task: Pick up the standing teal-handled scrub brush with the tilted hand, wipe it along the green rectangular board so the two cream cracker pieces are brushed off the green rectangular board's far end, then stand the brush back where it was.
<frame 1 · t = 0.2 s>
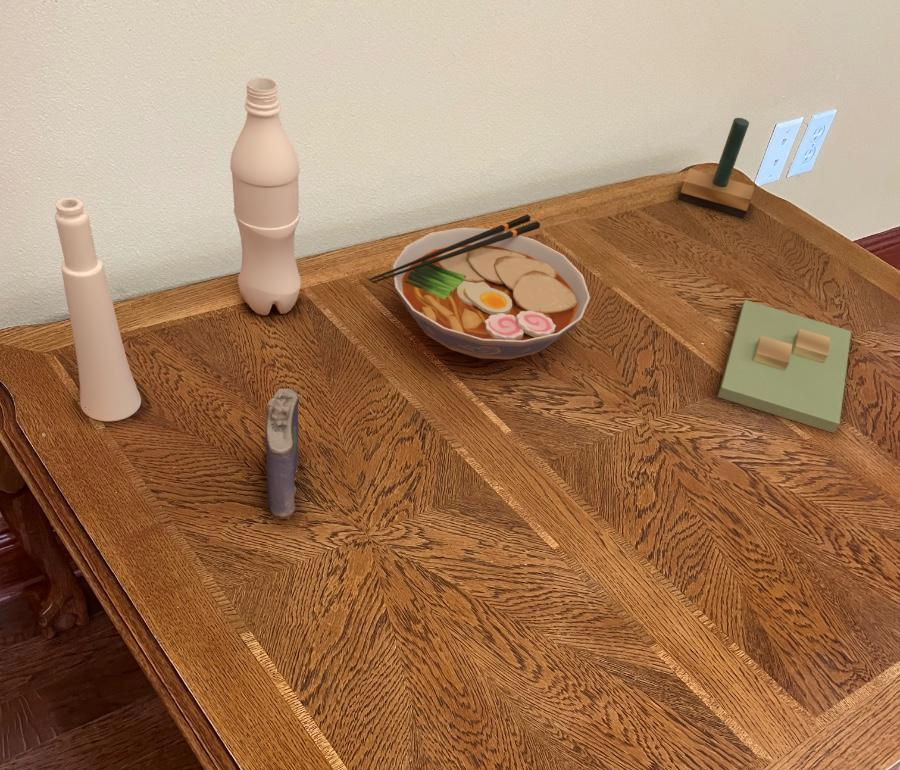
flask: (283, 488, 94), on the table
water bottle: (270, 304, 112), on the table
green rectangular board: (784, 367, 116), on the table
ramen bowl: (482, 336, 113), on the table
cracker a: (809, 349, 116), point 1 cm above the table, touching green rectangular board
brush: (713, 202, 140), on the table
cosmetic bottle: (111, 404, 98), on the table
cracker b: (770, 356, 114), point 1 cm above the table, touching green rectangular board
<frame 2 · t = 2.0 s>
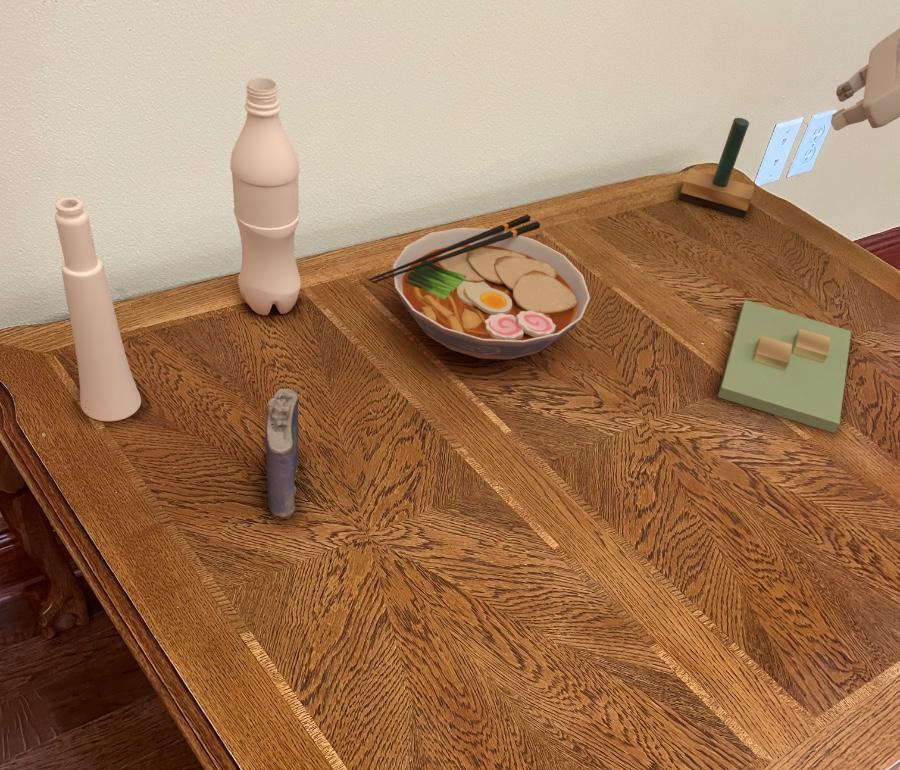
hand: (835, 109, 126), 17 cm above the table, tool tilted 45°, fingers open, 8 cm apart
nothing on the table moved.
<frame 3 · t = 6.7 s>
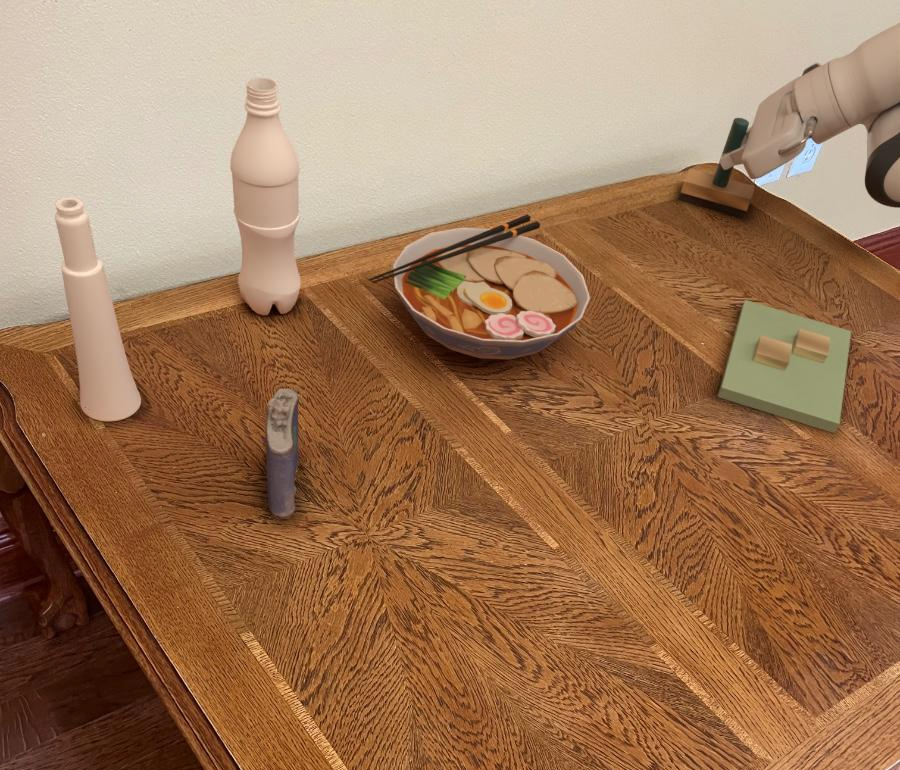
hand: (723, 158, 135), 7 cm above the table, tool tilted 45°, fingers closed on brush, 2 cm apart
brush: (713, 202, 140), on the table, touching gripper
everything else where it was.
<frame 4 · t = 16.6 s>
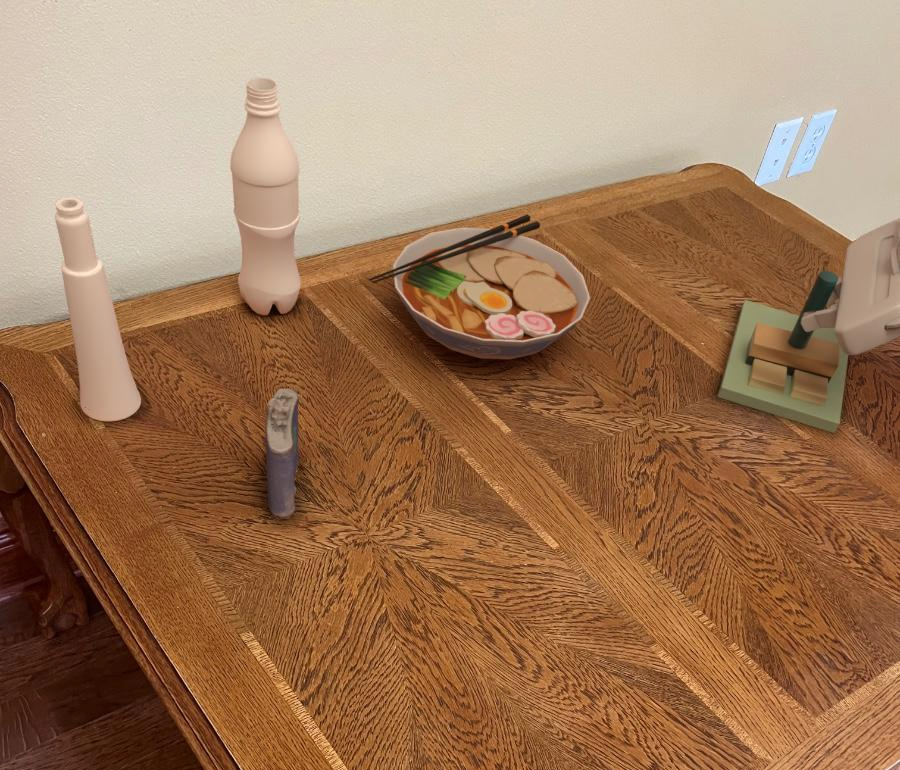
hand: (804, 315, 108), 9 cm above the table, tool tilted 45°, fingers closed on brush, 2 cm apart
cracker a: (806, 391, 111), point 1 cm above the table, touching brush, green rectangular board
brush: (787, 363, 113), point 2 cm above the table, touching cracker a, gripper
cracker b: (765, 380, 111), point 2 cm above the table, touching green rectangular board
everything else where it was.
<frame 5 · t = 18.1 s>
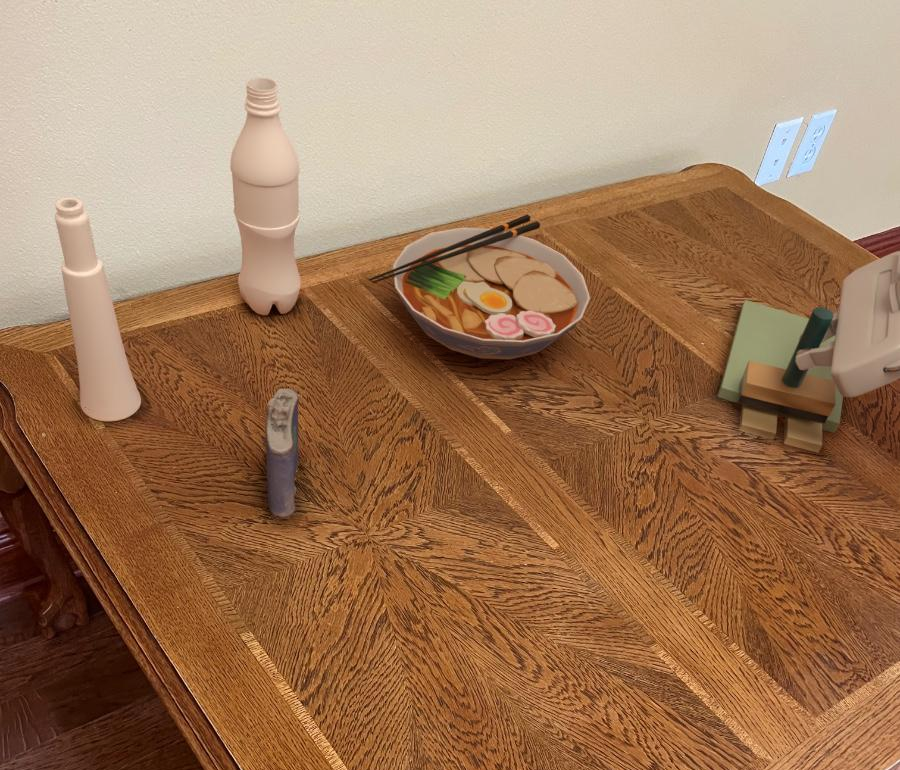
hand: (799, 352, 103), 9 cm above the table, tool tilted 45°, fingers closed on brush, 2 cm apart
cracker a: (800, 437, 108), on the table
brush: (781, 402, 108), point 2 cm above the table, touching gripper
cracker b: (756, 425, 109), on the table
everything else where it was.
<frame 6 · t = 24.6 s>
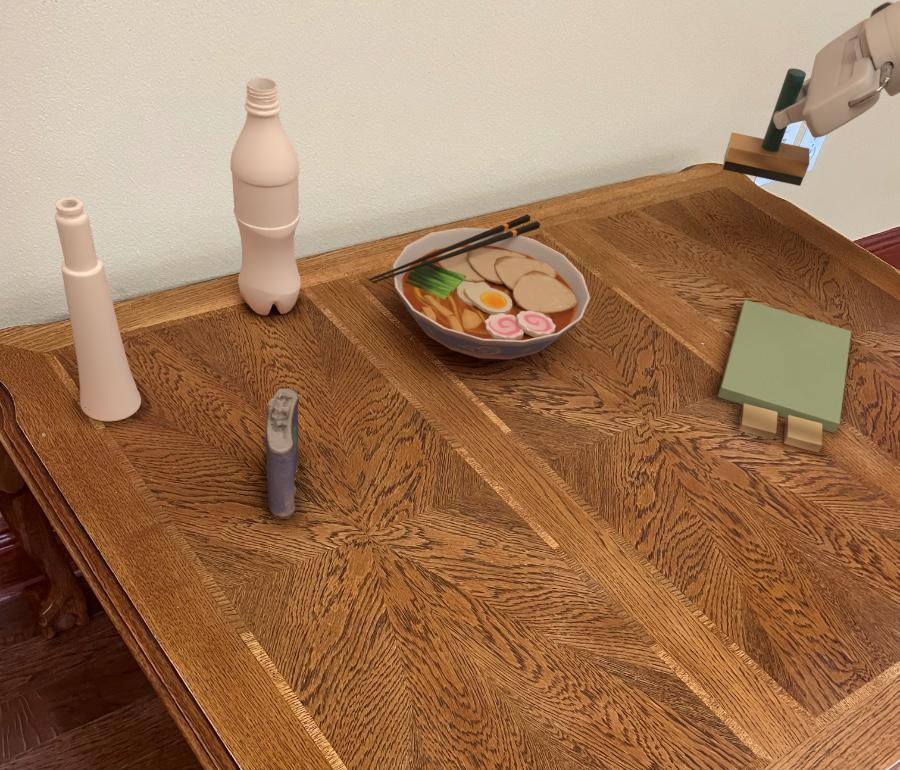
hand: (776, 116, 116), 19 cm above the table, tool tilted 45°, fingers closed on brush, 2 cm apart
brush: (761, 170, 121), point 12 cm above the table, touching gripper
everything else where it was.
when the fingers open (7 cm above the table, at t = 30.0 s): brush stays where it is, on the table.
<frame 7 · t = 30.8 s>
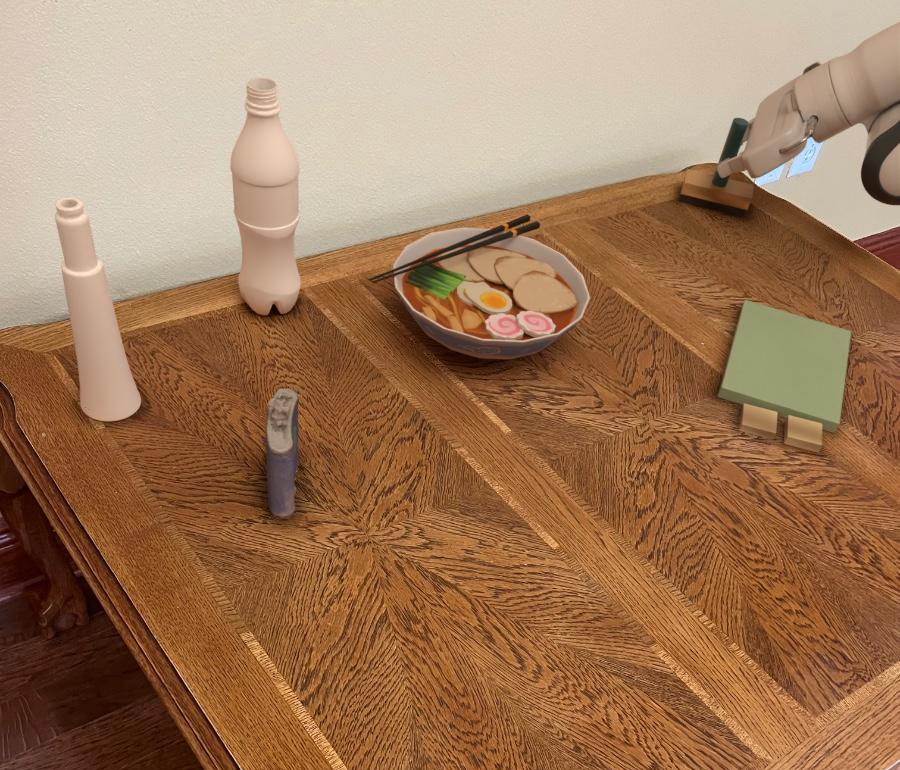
hand: (724, 157, 135), 7 cm above the table, tool tilted 45°, fingers open, 8 cm apart
brush: (712, 202, 140), on the table
everything else where it was.
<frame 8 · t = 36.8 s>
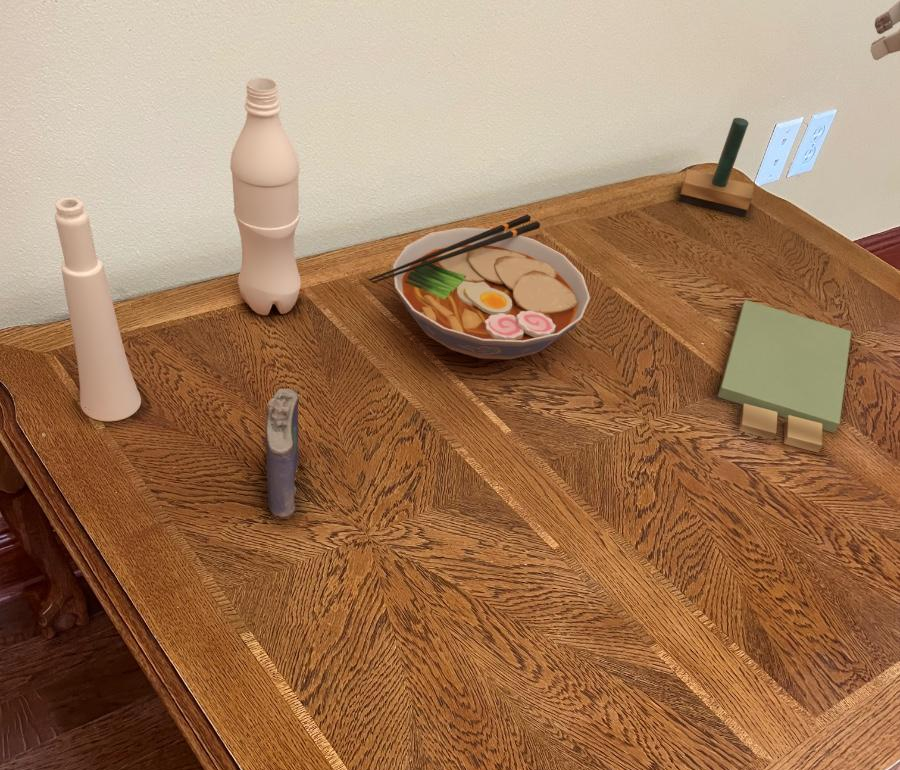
hand: (874, 39, 119), 25 cm above the table, tool tilted 45°, fingers open, 8 cm apart
nothing on the table moved.
at the end: cracker a on the table; cracker b on the table; brush tilted 0° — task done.
